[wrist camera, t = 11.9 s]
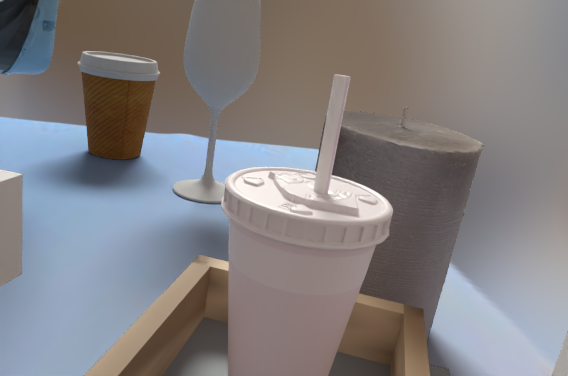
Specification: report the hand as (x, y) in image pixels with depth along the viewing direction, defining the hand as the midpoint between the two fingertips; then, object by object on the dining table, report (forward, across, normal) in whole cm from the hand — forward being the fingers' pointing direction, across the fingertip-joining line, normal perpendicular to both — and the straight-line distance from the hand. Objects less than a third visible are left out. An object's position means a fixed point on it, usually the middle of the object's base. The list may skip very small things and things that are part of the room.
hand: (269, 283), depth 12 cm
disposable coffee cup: (+48, -30, -12) cm, 58 cm away
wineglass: (+41, -15, -13) cm, 45 cm away
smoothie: (+8, 0, -10) cm, 12 cm away
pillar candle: (+22, +3, -13) cm, 25 cm away
